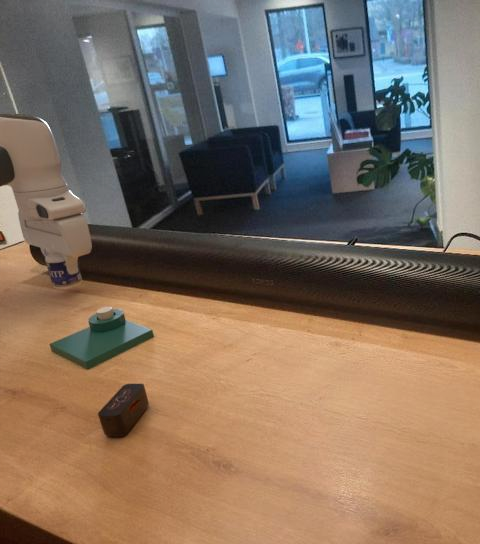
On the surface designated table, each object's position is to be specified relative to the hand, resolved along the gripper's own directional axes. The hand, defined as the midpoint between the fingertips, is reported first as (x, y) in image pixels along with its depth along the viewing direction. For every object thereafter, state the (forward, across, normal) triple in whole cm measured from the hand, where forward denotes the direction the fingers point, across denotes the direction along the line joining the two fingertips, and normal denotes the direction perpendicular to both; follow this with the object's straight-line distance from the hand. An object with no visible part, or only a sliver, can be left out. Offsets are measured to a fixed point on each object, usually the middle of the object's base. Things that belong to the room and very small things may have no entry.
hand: (64, 270), depth 99 cm
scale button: (+2, +24, -6) cm, 25 cm away
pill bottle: (+3, 0, 0) cm, 3 cm away
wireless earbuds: (+5, +48, -18) cm, 52 cm away
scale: (+5, +28, -9) cm, 29 cm away
